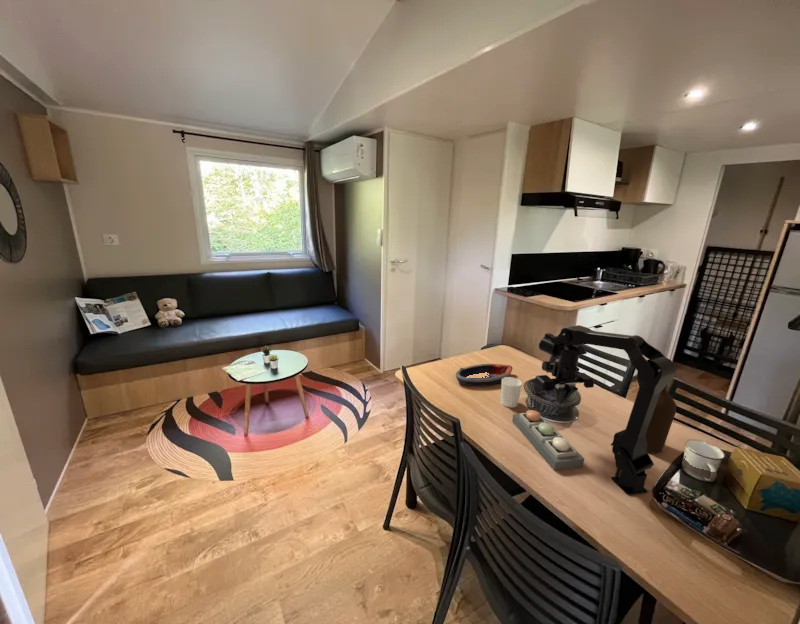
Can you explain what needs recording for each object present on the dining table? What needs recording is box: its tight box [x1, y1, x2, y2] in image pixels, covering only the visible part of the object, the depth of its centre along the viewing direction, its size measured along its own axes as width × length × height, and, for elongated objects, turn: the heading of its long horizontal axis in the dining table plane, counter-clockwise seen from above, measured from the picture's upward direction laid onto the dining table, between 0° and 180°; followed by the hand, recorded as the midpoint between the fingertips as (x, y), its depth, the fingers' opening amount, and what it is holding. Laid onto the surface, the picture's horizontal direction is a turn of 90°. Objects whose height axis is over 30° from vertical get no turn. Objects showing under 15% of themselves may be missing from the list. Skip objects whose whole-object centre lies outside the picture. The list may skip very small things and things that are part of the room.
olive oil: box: [646, 384, 677, 454], centre depth 113 cm, size 11×11×25 cm
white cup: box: [500, 376, 523, 409], centre depth 139 cm, size 8×8×10 cm
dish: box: [454, 363, 513, 387], centre depth 161 cm, size 16×31×5 cm, turn 109°
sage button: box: [538, 422, 555, 435], centre depth 116 cm, size 5×5×2 cm
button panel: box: [511, 412, 585, 471], centre depth 117 cm, size 26×10×4 cm, turn 10°
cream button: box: [552, 437, 571, 451], centre depth 108 cm, size 5×5×2 cm
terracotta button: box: [525, 409, 542, 422], centre depth 123 cm, size 5×5×2 cm
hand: (560, 403), depth 118 cm, fingers closed
